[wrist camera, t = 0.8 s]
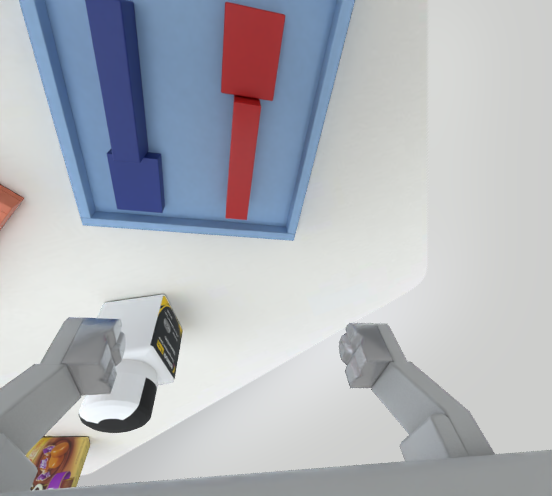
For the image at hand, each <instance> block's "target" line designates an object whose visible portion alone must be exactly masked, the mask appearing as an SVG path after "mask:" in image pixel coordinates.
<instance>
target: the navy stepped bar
mask: <svg viewBox="0 0 552 496" xmlns="http://www.w3.org/2000/svg"><path fill="white" fill-rule="evenodd" d="M85 3H86V9H87V15H88V20H89V26H90V31H91V37H92V43H93V48H94V54H95V60H96V65H97V71H98V76H99V82H100V88H101V93H102V99H103V104H104V110H105V116H106V121H107V127H108V133H109V138H110V144H111V149H110V150H109V151H108V152H107V158H108V164H109V169H110V174H111V179H112V185H113V190H114V195H115V201H116V206H117V209H119V210H131V211H143V212H155V213H163V210H164V207H165V199H164V186H163V172H162V158H161V154H160V153H152V152H148V150H149V149H148V139H147V129H146V119H145V109H144V99H143V89H142V79H141V69H140V59H139V49H138V39H137V29H136V19H135V9H134V3H133V2H132V1H128V0H85Z"/></svg>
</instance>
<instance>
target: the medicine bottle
mask: <svg viewBox="0 0 552 496" xmlns="http://www.w3.org/2000/svg"><path fill="white" fill-rule="evenodd" d="M97 318H103V319H121V322H122V328H121V332H123V333H124V334H125V342H126V345H125V351H124V355H123V358H122V361H121V362H120V363H119V364H118V365H117V366H116V367H115V368H116V372H117V376H116V379H115V382H114V385H113V388H112V391H111V394H98V395H86V396H85V398H84V401H83V403H82V406H81V408H80V411H79V417H80V419H81V421H82V423H84V424H85V425H86V426H88V427H90V428H92V429H94V430H97V431H101V432H108V433H121V432H127V431H131V430H134V429H137V428H140V427H142V426H143V425H145V424H146V423H147V422H148V421H149V420H150V418H151V414H152V409H153V405H154V400H155V395H156V391H157V386H158V385H162V384H169V383H172V382H174V379H175V373H176V367H177V361H178V355H179V349H180V343H181V338H182V332H183V330H182V328H181V326H180V324H179V322H178V320H177V318H176V316H175V314H174V312H173V310H172V308H171V306H170V304H169V302H168V300H167V298H166V296H165V295H164V294H162V295H155V296H148V297H141V298H134V299H127V300H120V301H113V302H106V303H104V304H103V305H102V307H101V310H100V312H99V314H98V316H97Z"/></svg>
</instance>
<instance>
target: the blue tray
mask: <svg viewBox="0 0 552 496" xmlns="http://www.w3.org/2000/svg"><path fill="white" fill-rule="evenodd" d="M128 1H132V2H133V3H134V9H135V19H136V29H137V39H138V49H139V59H140V69H141V79H142V89H143V99H144V109H145V119H146V129H147V139H148V149H149V150H148V152H152V153H160V154H161V158H162V172H163V186H164V199H165V207H164V210H163V213H155V212H143V211H131V210H119V209H117V206H116V201H115V195H114V190H113V185H112V179H111V174H110V169H109V164H108V158H107V152H108V151H109V150H110V149H111V144H110V138H109V133H108V127H107V121H106V116H105V110H104V104H103V99H102V93H101V88H100V82H99V76H98V71H97V65H96V60H95V54H94V48H93V43H92V37H91V31H90V26H89V20H88V15H87V9H86V3H85V0H19V2H20V6H21V9H22V13H23V16H24V20H25V23H26V27H27V30H28V34H29V37H30V41H31V44H32V48H33V51H34V55H35V58H36V62H37V65H38V69H39V73H40V76H41V80H42V83H43V87H44V90H45V94H46V97H47V101H48V104H49V108H50V111H51V115H52V118H53V122H54V125H55V129H56V132H57V136H58V139H59V143H60V146H61V150H62V154H63V157H64V161H65V164H66V168H67V171H68V175H69V178H70V182H71V185H72V189H73V192H74V196H75V199H76V203H77V206H78V210H79V213H80V217H81V220H82V224H83V225H87V226H101V227H114V228H128V229H142V230H155V231H169V232H183V233H197V234H210V235H224V236H238V237H251V238H265V239H279V240H292V241H293V240H294V237H295V233H296V229H297V226H298V222H299V218H300V214H301V210H302V206H303V202H304V198H305V194H306V190H307V186H308V182H309V179H310V175H311V171H312V167H313V163H314V159H315V155H316V151H317V147H318V143H319V139H320V136H321V132H322V128H323V124H324V120H325V116H326V112H327V108H328V104H329V100H330V96H331V92H332V89H333V85H334V81H335V77H336V73H337V69H338V65H339V61H340V57H341V53H342V49H343V45H344V42H345V38H346V34H347V30H348V26H349V22H350V18H351V14H352V10H353V6H354V2H355V0H128ZM225 2H230V3H235V4H239V5H244V6H248V7H253V8H258V9H262V10H267V11H271V12H276V13H280V14H284V15H285V23H284V30H283V36H282V43H281V50H280V57H279V63H278V70H277V77H276V84H275V91H274V97H273V101H268V100H262V99H259V100H260V104H261V113H260V120H259V128H258V136H257V144H256V152H255V160H254V168H253V176H252V184H251V192H250V199H249V207H248V215H247V220H239V219H227V218H225V216H226V199H227V185H228V172H229V158H230V144H231V130H232V116H233V102H234V95H231V94H225V93H221V78H222V57H223V35H224V14H225Z"/></svg>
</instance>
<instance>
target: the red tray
mask: <svg viewBox="0 0 552 496" xmlns="http://www.w3.org/2000/svg"><path fill="white" fill-rule="evenodd" d="M23 199H24V198H23V197H21V196H19V195H17V194H16V193H14V192H12V191H11V190H9V189H7V188H5V187H4V186H2V185H0V230H1V228H2V227H3V226H4V224H5V223H6V222H7V220H8V219H9V218H10V216H11V215H12V214H13V212H14V211H15V210H16V208H17V207H18V206H19V204H20V203H21V202H22V200H23Z"/></svg>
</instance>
